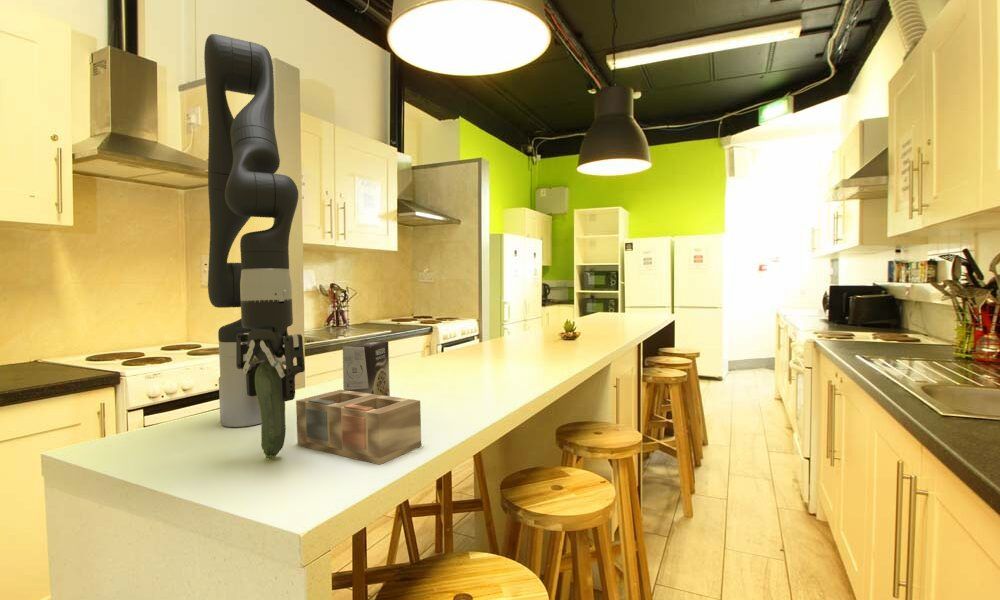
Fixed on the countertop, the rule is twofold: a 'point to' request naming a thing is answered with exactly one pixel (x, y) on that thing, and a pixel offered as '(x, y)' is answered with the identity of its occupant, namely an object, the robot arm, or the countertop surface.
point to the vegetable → (270, 409)
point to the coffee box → (366, 367)
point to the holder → (359, 425)
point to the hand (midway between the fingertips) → (270, 397)
